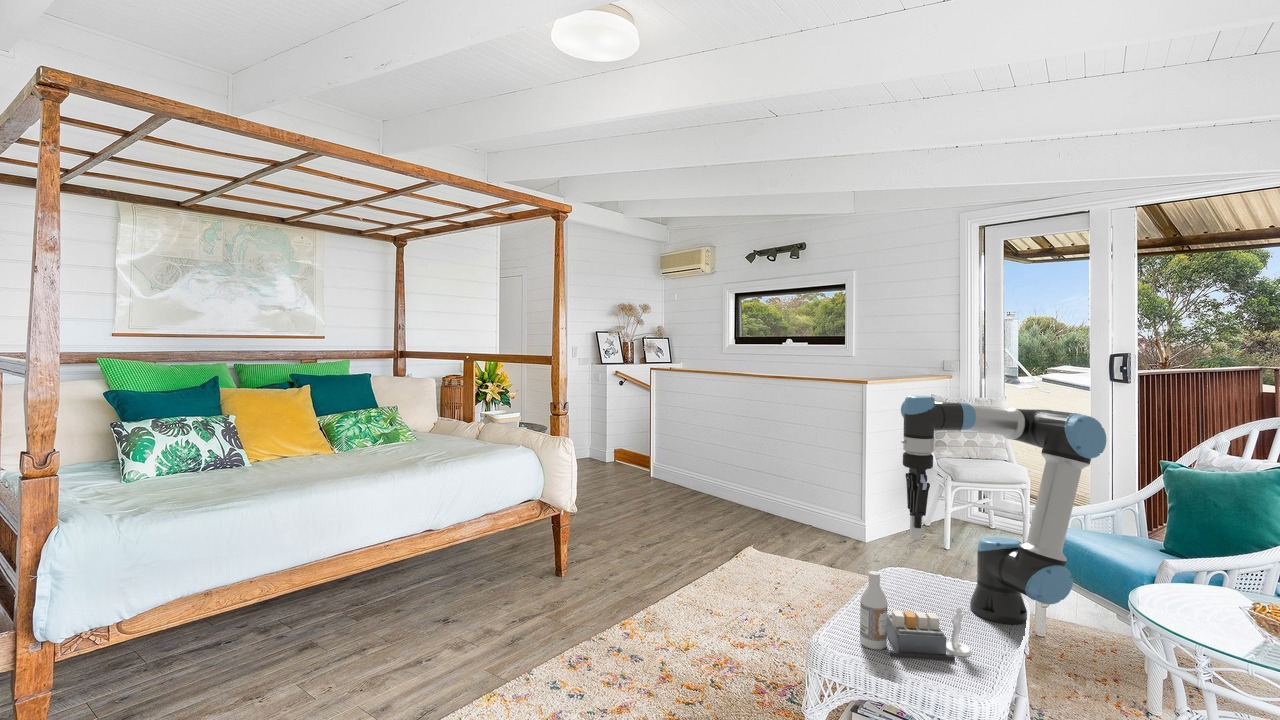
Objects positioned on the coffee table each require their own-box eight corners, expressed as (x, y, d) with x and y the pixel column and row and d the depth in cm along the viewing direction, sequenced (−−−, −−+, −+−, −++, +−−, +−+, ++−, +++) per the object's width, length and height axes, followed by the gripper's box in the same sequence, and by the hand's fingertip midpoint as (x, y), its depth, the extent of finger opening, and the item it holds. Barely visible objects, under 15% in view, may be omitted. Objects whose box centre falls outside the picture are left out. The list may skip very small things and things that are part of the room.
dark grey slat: (953, 659, 161) (953, 654, 161) (954, 661, 159) (954, 656, 159) (889, 654, 163) (889, 650, 163) (891, 657, 161) (891, 652, 161)
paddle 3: (923, 622, 168) (923, 612, 168) (927, 628, 165) (927, 617, 165) (914, 622, 168) (914, 611, 168) (918, 628, 165) (919, 617, 165)
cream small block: (900, 621, 169) (900, 610, 169) (904, 627, 165) (904, 616, 165) (892, 620, 169) (892, 610, 169) (895, 626, 166) (895, 616, 166)
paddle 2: (911, 622, 169) (911, 611, 168) (915, 628, 165) (915, 617, 165) (903, 621, 169) (903, 611, 169) (907, 627, 165) (907, 616, 165)
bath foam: (876, 652, 164) (877, 579, 163) (854, 642, 169) (855, 571, 169) (891, 645, 167) (893, 574, 167) (870, 635, 173) (871, 566, 172)
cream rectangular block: (934, 623, 168) (934, 612, 168) (939, 629, 164) (939, 618, 164) (926, 623, 168) (926, 612, 168) (930, 629, 165) (930, 618, 164)
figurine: (964, 659, 161) (965, 614, 160) (937, 648, 166) (938, 605, 166) (976, 651, 165) (977, 607, 164) (950, 640, 171) (951, 598, 170)
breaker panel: (930, 637, 172) (930, 614, 172) (945, 659, 160) (946, 635, 160) (886, 634, 174) (886, 611, 173) (898, 656, 162) (898, 632, 162)
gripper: (896, 447, 172) (894, 530, 173) (910, 456, 159) (908, 545, 160) (924, 448, 171) (922, 531, 172) (941, 457, 158) (938, 547, 159)
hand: (915, 538), depth 166 cm, fingers closed
